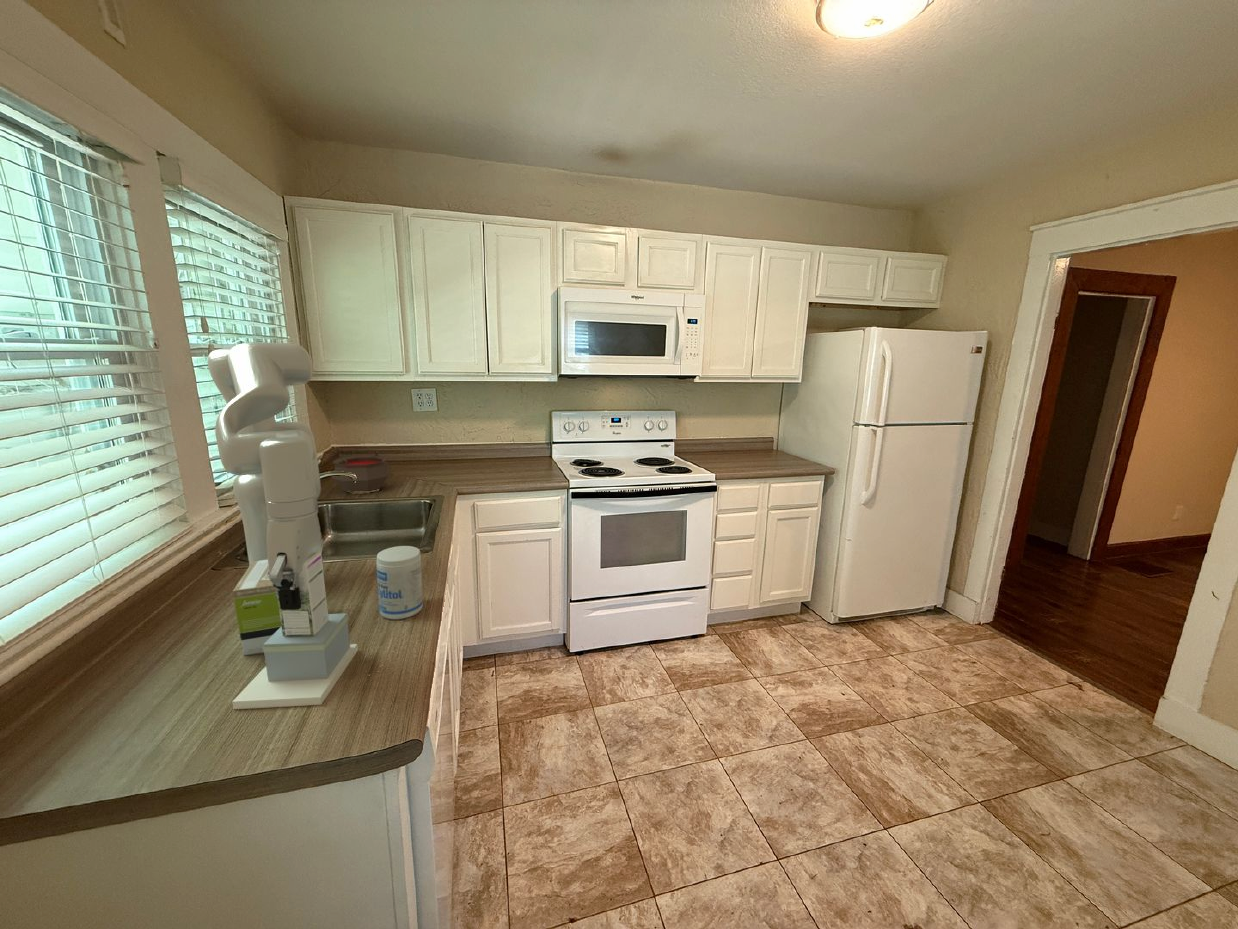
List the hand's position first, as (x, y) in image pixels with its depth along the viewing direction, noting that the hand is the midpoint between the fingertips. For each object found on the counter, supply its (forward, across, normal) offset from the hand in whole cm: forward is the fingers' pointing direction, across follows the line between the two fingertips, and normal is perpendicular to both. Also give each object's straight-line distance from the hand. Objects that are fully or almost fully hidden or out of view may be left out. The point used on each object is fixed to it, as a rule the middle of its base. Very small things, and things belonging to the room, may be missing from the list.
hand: (303, 596), depth 90 cm
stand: (+15, +2, -1) cm, 16 cm away
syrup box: (+7, 0, 0) cm, 7 cm away
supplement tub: (+16, -22, +10) cm, 29 cm away
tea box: (+16, -14, -13) cm, 25 cm away
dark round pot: (+16, -129, -38) cm, 136 cm away
